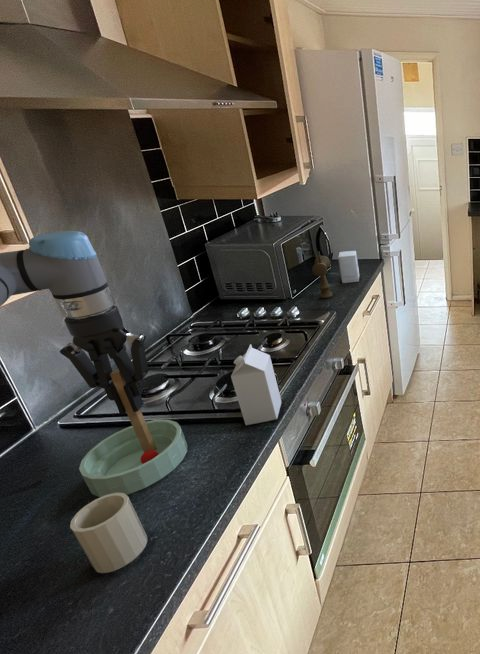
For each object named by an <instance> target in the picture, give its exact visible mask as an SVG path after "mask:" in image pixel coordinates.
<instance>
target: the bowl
mask: <svg viewBox="0 0 480 654" xmlns="http://www.w3.org/2000/svg"><path fill="white" fill-rule="evenodd" d="M145 422H146V424H147V427H148V429H149V431H150V434H151V436H152V438H153V441H154V443H155V445H156V448H157V450H156V451H157V452H158V455H157V456H156V457H154V458H153V459H152V460H150V461H148V462H146V463H144V464H142V463H141V456H142V455H143V454H144V451H143V449H142V447H141V444H140V442H139V440H138V437H137V435H136V433H135V431H134V428H133V426H132V425H130V426H128V427H125V428H123V429H121V430H119V431H116V432H115V433H113V434H110V435H109V436H107V437H106V438H104V439H103V440H101V441H100V442H99V443H97V444H96V445H95V446H93V447H92V448H91V449H90V450H89V451H88V452H87V453H86V454H85V456H84V457H83V458H82V459H81V461H80V464H79V467H78V470H79V472H80V474H81V477H82V478H83V480H84V482H85V484H86V486H87V488H88V490H89V491H90V494H91V495H93V496H95V497H98V498H100V497H103V496H105V495H108V494H113V493H125V494H126V495H127V496H128V495H131V494H133V493H135V492H139V491H142V490H144V489H146V488H148V487H150V486H151V485H153V484H156V483H157V482H159V481H161V480H162V479H164V478H165V477H166V476H168V475H169V474H170V473H171V472H173V471H174V470H176V468H177V467H178V466H179V465H180V464H181V462H183V461H184V459H185V457H186V456H187V455H186V454H187V453H188V443H187V439H186V437H185V435H184V432H183V430H182V426H181V425H180V424H179V423H178V422H177V421H174V420H171V419H153V420H148V421H145Z"/></svg>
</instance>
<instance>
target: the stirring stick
mask: <svg viewBox="0 0 480 654" xmlns="http://www.w3.org/2000/svg"><path fill="white" fill-rule="evenodd" d="M112 371H113V372H112V373H111V374H110V376H111V378H112V381H113V383H114V385H115V387H116V389H117V392H118V394H119V396H120V399H121V401H122V403H123V405H124V408H125V410H126V414H127V417H128V419H129V422H130V424H131V426H133V428H134V431H135V433H136V435H137V437H138V440H139V442H140V444H141V447H142V449H143V451H144V453H145V452H146V451H149V450H155V451H156V450H157V448H156V445H155V443H154V441H153V438H152V436H151V434H150V431H149V429H148V427H147V424H146V422H147V421H146V419H145V417H144V414H143V413H142V410H141V408H140V409H139V411H137V412H133V409H132V407H131V405H130V402H129V400H128V398H127V395H126V393H125V391H124V388H123V386H124V385H125V384H126V382H125V380H124V378H123V377H122V375H121V373H120V371H119V369H118V368H117V369H113V370H112Z"/></svg>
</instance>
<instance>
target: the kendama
mask: <svg viewBox="0 0 480 654" xmlns="http://www.w3.org/2000/svg"><path fill="white" fill-rule="evenodd" d="M330 266H331V260H330V257H328V256H326V255H321V252H320V251H317V257H315V259H314V265H312V269H311V271H312V273H313V275H314V276H316V277H320V285H319V286H318V288H319V289H320V291H321V292H320V294H319V297H320V298H321V299H328V298H332V297H333V295H334V292H332V291H331V283H329V281H328V279H327V277H326V274H328V268H330Z"/></svg>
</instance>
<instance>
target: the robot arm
mask: <svg viewBox="0 0 480 654" xmlns="http://www.w3.org/2000/svg"><path fill="white" fill-rule="evenodd" d="M43 290H49V291H50V292H51V295H52V297H53V299H54V302H55V304H56V306H57V308H58V310H59V312H60V314H61V316H62V317H64V320H63V321H64V323H65V326H66V328H67V330H68V332H69V334H70V336H72V342H68V343H67V344H66V345H65V346H64V347H62V348H61V349H60V350H59V354H61V355H62V356H63V357H65V358H67V359H68V360H69V361H70V362H71V364H72V365H73V367H74V368H75V369H76V370H77V372H78V373H79V374H80V376H81V377H82V379H83V380H84V382H86V384H87V385H88V386H89V388H91V389H96V388H102V389H103V390H104V392H105V394H106V396H107V398H108V400H109V401H114V403H115V405H116V407H117V410H118V412H119V414H120V415H125V414H127V412H126V410H125V408H124V405H123V403H122V401H121V399H120V396H119V394H118V392H117V389H116V387H115V385H114V383H113V381H112V378H111V376H110V374H111V373H112V372H113V371H114V370H113V368H112V365H111V361H110V359H111V360H112V361H113V362H114V364H115V366H116V368H117V370H118V369H119V371H120V373H121V375H122V377H123V378H124V380H125V382H126V384H125V385H124V386H123V388H124V391H125V393H126V395H127V398H128V400H129V402H130V405H131V407H132V409H133V412H137V411H139V409H140V410H141V408H142V406H143V405H144V404H145V402H144V399H143V397H142V393H143V392H144V388H143V386H142V384H141V381H143V380H144V378H145V377H147V375H148V373H149V369H148V361H147V356H146V355H147V354H146V349H145V341H146V339H147V335H146V334H145V333H144V332H143V333H139V334H134V333H131V332H130V331H129V330H128V329H127V328H126V327H125V326H124V321H123V318H122V315H121V313H120V311H119V307H118V306H117V305H116V300H115V298H114V295H113V293H112V291H111V288H110V286H109V284H108V281H107V279H106V276H105V273H104V271H103V268H102V266H101V263H100V260H99V258H98V253H97V252H96V251H95V249H94V246H92V243H91V241H90V238H89V237H88V235H87V234H86V233H84V232H82V231H76V230H61V231H54V232H50V233H49V232H48V233H43V234H39V235H36V236H34V237H31V238H30V239H29V240H28V248H25V249H20V250H13V251H5V252H0V307H2V306H3V305H4V304H5V303H6V302H7V301H8V300H9V299H10V297H12V296H17V295H22V294H28V293H34V292H39V291H43ZM126 341H127V342H128V346H129V347H130V354H131V358H130V355H129V354H128V352H127V346H126V345H125V343H126ZM86 352H87V353H88V355H87V353H86ZM109 358H110V359H109Z"/></svg>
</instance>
